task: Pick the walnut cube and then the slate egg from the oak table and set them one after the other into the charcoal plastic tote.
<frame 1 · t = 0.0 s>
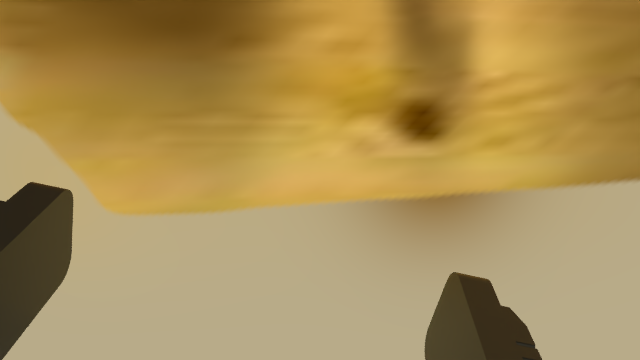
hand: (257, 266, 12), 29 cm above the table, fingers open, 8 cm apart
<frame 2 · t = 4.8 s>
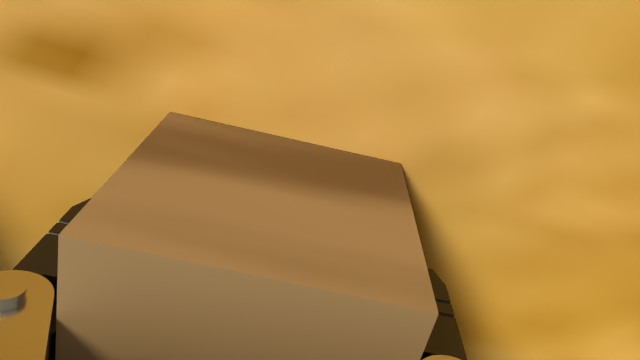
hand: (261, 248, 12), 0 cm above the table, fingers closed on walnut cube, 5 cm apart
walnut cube: (265, 236, 13), on the table, touching gripper
when the fingers open (4 cm above the table, at t = 9.6 s): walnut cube drops 3 cm, resting on tote.
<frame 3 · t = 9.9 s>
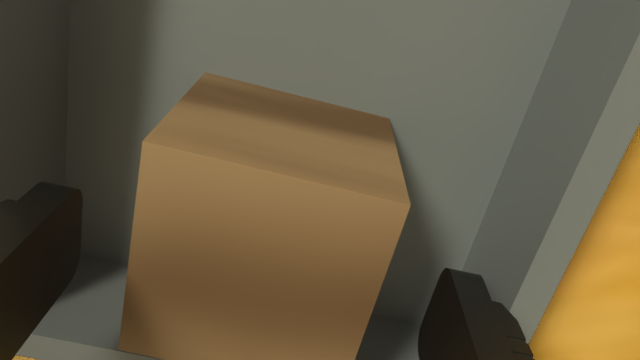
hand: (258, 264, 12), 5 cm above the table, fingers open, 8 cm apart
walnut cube: (278, 178, 16), resting on tote
tote: (309, 35, 14), on the table
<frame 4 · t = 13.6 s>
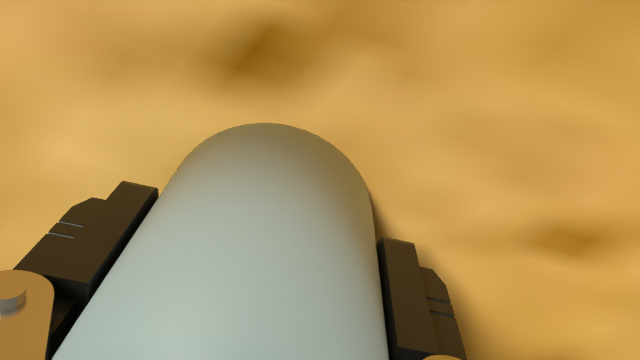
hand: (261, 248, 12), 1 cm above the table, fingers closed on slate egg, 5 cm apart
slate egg: (269, 220, 13), on the table, touching gripper
when the fingers open (4 cm above the table, at t = 18.4 s): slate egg drops 2 cm, resting on tote.
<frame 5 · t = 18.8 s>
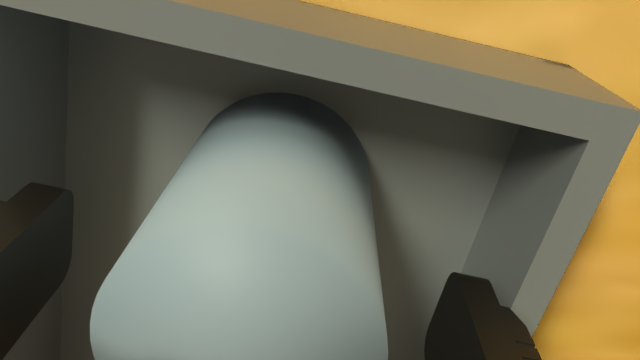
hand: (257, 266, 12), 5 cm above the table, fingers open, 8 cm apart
tote: (257, 281, 18), on the table
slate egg: (280, 178, 16), resting on tote
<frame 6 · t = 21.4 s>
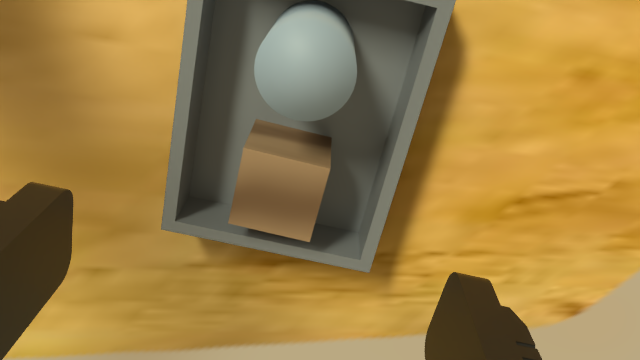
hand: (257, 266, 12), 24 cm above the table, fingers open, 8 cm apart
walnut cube: (285, 162, 36), resting on tote
tote: (298, 104, 35), on the table
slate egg: (312, 43, 33), resting on tote
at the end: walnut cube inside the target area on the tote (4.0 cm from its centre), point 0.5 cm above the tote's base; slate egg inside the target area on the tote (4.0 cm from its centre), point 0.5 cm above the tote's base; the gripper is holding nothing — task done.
